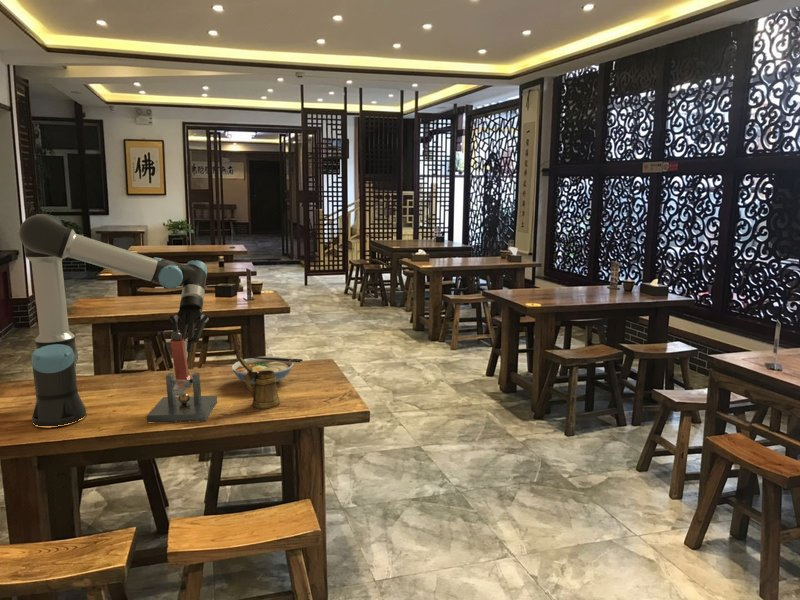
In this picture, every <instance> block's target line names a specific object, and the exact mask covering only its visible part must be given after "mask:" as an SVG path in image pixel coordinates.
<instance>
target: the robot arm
mask: <svg viewBox="0 0 800 600" xmlns="http://www.w3.org/2000/svg"><path fill="white" fill-rule="evenodd" d="M18 236H19V240H20V242H21V243H22V245H23V249H24V257H25V258H26V259H27V260H28V261H30V263H31V270H32V278H33V279H32V280H33V286H34V287H33V288H34V297H35V303H36V305H35V306H36V311H37V312H36V313H37V321H38V332H39V335H37V337H35V339H34V342H35V343H34V344H35V350H33V352H32V353H31V361H30V364H31V368H32V374H33V382H34V390H35V391H34V392H35V397H36V398H35V399H36V401H35V404H34V407H33V412H32V416H31V421H32V424H33V423H34V424H35V425H38V426H58V425H64V424H68V423H72V422H75V421H78V420H79V419H81V418H83V417H84V416H85V415H86V416H87V409H86V407H85V404H84V402H83V399H81V397H80V394H79V390H78V381H77V373H76V368H77V363H78V360H79V351H78V350H77V345H76V343H77V342H76V336H75V334H74V333H72V331H70V326H69V319H68V309H67V308H68V307H67V298H66V291H65V290H66V289H65V280H64V270H63V260H64V259H66V258H70V259H74V260H77V261H81V262H84V263H88V264H90V265H91V264H92V265H95V266H98V267H101V268H103V269H108V270H111V271H114V272H118V273H121V274H125V275H128V276H132V277H135V278H138V279H141V280H144V281H147V282H148V281H149V282H151V283H153V284H156V285H161V287H163V288H167V289H176V288H177V287H179V286H182V290H181V294H180V296H181V297H180V303H179V309H178V312H177V313H176V314H175V315H174V316H173V315H171V316H169V319H170V321H171V324H172V331H173V333H174V332H179V326H178V321H180V322H181V327H180V333H181V334H182V338H184V343H185V350H186V357H187V358H188V355H189V353H192V349H193V348H192V347H193V344H195V343H199V341H200V339H201V336H202V334H203V331H204V329H205V327H206V324H207V323H209V321H210V319H209V317H208V316H209V315H207V314H203V313H204V312H203V308H204V307H203V306H204V298H205V293H206V292H205V290H206V284H207V278H208V267H207V265H206V263H204V262H203V261H201V260H197V259H196V260H189V261H188V262H187V263H186V264H183V263H179V262H176V261H172V260H169V259H164V258H161V257H156V256H155V257H153V258H152V257H149V256H146V255H143V254H140V253H137V252H134V251H131V250H129V249H128V250H127V249H124V248H121V247H118V246H115V245H112V244H110V243H105V242H102V241H99V240H97V239H94V238H90V237H88V236H84V235H81V234H78V233H76V231H75V230H74V229H73V228H69V227H67V226H64V224H63V223H62V221H61V220H60V219H59V218H57V217H56V216H54V215H52V214H48V213H36V214H34V215H31V216H30V217H28V218H26V219H24V221H22V223H21V225H20V227H19V231H18ZM198 322H199V323H198ZM197 323H198V325H197ZM196 325H197V327H196ZM195 328H196V331H195ZM187 332H188V333H187ZM173 333H172V334H173ZM186 337H187V338H186Z"/></svg>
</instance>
